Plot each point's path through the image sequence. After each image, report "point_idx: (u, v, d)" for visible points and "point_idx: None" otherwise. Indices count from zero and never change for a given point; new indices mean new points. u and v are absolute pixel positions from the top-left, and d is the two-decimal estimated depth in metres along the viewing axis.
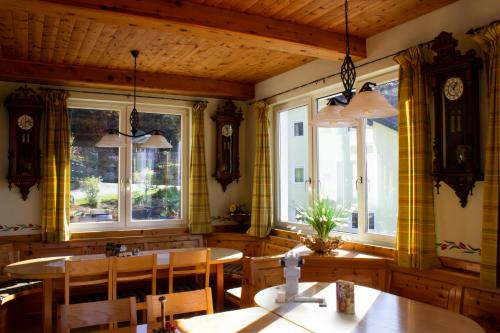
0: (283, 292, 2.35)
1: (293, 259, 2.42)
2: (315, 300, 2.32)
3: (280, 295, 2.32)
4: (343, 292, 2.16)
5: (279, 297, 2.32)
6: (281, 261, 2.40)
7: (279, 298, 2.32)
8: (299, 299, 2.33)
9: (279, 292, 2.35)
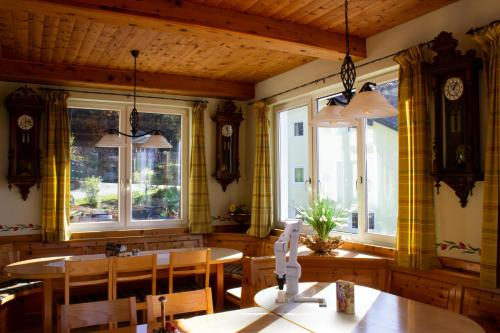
0: (283, 292, 2.35)
1: None
2: (315, 300, 2.32)
3: (280, 295, 2.32)
4: (343, 292, 2.16)
5: (279, 297, 2.32)
6: None
7: (279, 298, 2.32)
8: (299, 299, 2.33)
9: (279, 292, 2.35)
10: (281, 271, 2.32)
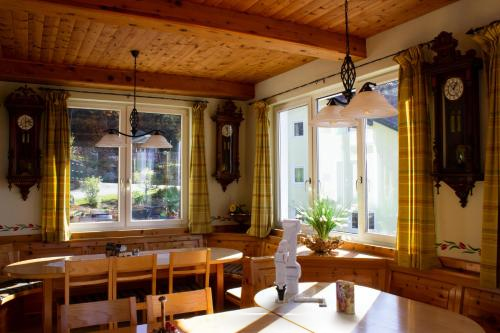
0: None
1: None
2: (315, 300, 2.32)
3: None
4: (343, 292, 2.16)
5: None
6: None
7: None
8: (299, 299, 2.33)
9: None
10: (281, 282, 2.32)
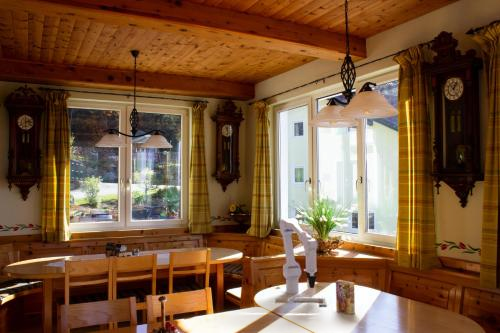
0: None
1: None
2: (315, 300, 2.32)
3: None
4: (343, 292, 2.16)
5: None
6: None
7: None
8: (299, 299, 2.33)
9: None
10: (312, 269, 2.31)
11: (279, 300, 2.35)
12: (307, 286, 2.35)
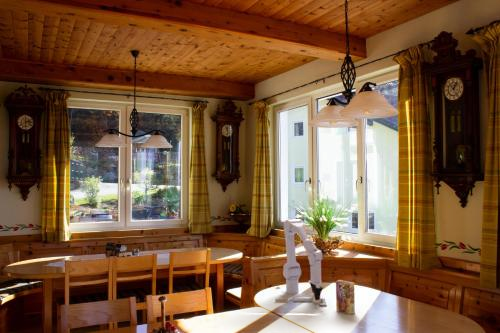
0: None
1: None
2: None
3: None
4: (343, 292, 2.16)
5: (314, 298, 2.30)
6: None
7: (314, 299, 2.30)
8: (299, 299, 2.33)
9: (313, 293, 2.33)
10: (317, 281, 2.30)
11: (279, 300, 2.35)
12: None
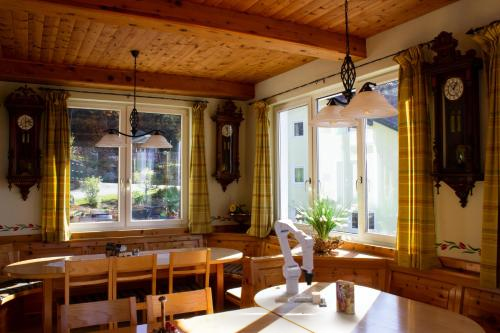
0: (317, 293, 2.33)
1: None
2: None
3: (315, 296, 2.30)
4: (343, 292, 2.16)
5: (314, 298, 2.30)
6: None
7: (314, 299, 2.30)
8: (299, 299, 2.33)
9: (313, 293, 2.33)
10: (309, 266, 2.36)
11: (279, 300, 2.35)
12: None
